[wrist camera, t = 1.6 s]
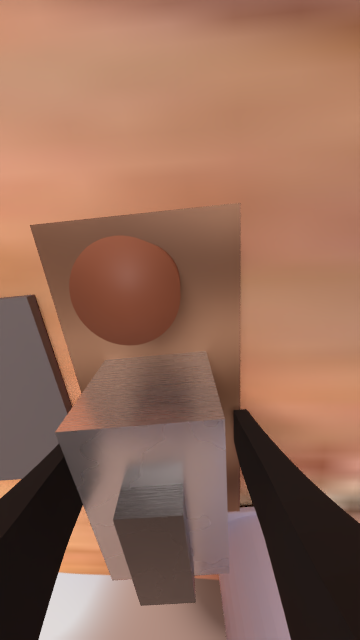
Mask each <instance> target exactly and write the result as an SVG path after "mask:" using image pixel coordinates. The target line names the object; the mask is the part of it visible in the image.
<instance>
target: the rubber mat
mask: <svg viewBox="0 0 360 640" xmlns="http://www.w3.org/2000/svg"><path fill="white" fill-rule="evenodd" d="M71 408H72V406H71V403H70V400H69V397H68V394H67V391H66V388H65V385H64V382H63V379H62V376H61V373H60V370H59V367H58V364H57V361H56V358H55V356H54V353H53V350H52V347H51V344H50V341H49V338H48V335H47V332H46V329H45V326H44V323H43V320H42V317H41V314H40V311H39V308H38V305H37V302H36V299H35V296H34V295H26V296H16V297H5V298H0V480H13V479H23V478H24V477H25V476H26V475H27V474H28V473H29V472H30V471H31V470H32V469H33V468H35V467H36V466H37V465H38V464H39V463H40V462H41V461H42V460H43V459H44V458H45V457H46V456H47V455H48V454H49V453H50V452H51V451H52V450H53V449H54V448H55V447H56V446H57V445H58V444H59V441H58V439H57V436H56V434H55V431H56V430H57V429H58V427H59V426H60V424H61V423H62V421H63V420H64V419H65V417H66V416H67V414H68V413H69V411H70V410H71Z"/></svg>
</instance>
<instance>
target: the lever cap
mask: <svg viewBox="0 0 360 640" xmlns="http://www.w3.org/2000/svg"><path fill="white" fill-rule="evenodd" d="M55 434H56V436H57V439H58V441H59V444H60V447H61V449H62V452H63V454H64V457H65V459H66V462H67V464H68V467H69V470H70V472H71V475H72V477H73V480H74V482H75V485H76V488H77V490H78V493H79V495H80V498H81V500H82V503H83V506H84V508H85V511H86V513H87V516H88V518H89V521H90V524H91V526H92V529H93V531H94V534H95V536H96V539H97V542H98V544H99V547H100V549H101V552H102V554H103V557H104V560H105V562H106V565H107V567H108V570H109V572H110V575H111V577H112V580H127V579H132V580H133V583H134V586H135V589H136V592H137V596H138V599H139V602H140V605H141V606H142V605H160V604H178V603H195V602H196V599H195V580H194V579H195V578H194V576H195V575H212V574H229V544H228V509H227V474H226V438H225V417H224V414H223V410H222V407H221V403H220V399H219V396H218V392H217V389H216V385H215V381H214V378H213V374H212V371H211V367H210V364H209V360H208V356H207V353H206V351H202V352H191V353H179V354H168V355H156V356H145V357H133V358H122V359H111V360H105V361H104V363H103V364H102V365H101V367H100V368H99V370H98V371H97V373H96V374H95V375H94V377H93V378H92V380H91V381H90V383H89V384H88V386H87V387H86V388H85V390H84V391H83V393H82V394H81V396H80V397H79V398H78V400H77V401H76V403H75V404H74V406H73V407H72V408H71V410H70V411H69V413H68V414H67V416H66V417H65V419H64V420H63V421H62V423H61V424H60V426H59V427H58V429H57V430H56V431H55Z"/></svg>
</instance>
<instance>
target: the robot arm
mask: <svg viewBox="0 0 360 640" xmlns="http://www.w3.org/2000/svg"><path fill="white" fill-rule="evenodd" d="M234 444H235V448H236V452H237V456H238V460H239V464H240V467H241V470H242V473H243V476H244V479H245V482H246V485H247V488H248V491H249V494H250V497H251V500H252V502H253V505H254V507H240V511H234V512H228V544H229V574H219V581H220V588H221V597H222V605H223V613H224V620H225V629H226V637H227V640H360V523H358V522H357V521H356V520H355V519H354V518H352V517H351V516H350V515H349V514H347V513H346V512H345V511H344V510H343V509H342V508H340V507H339V506H338V505H337V504H336V503H335V502H334V501H332V500H331V499H330V498H329V497H328V496H327V495H326V494H325V493H323V492H322V491H321V490H320V489H319V488H318V487H317V486H316V485H315V484H314V483H313V482H312V481H311V480H309V479H308V478H307V477H306V476H305V475H304V474H303V473H302V472H301V471H300V470H299V469H298V468H297V467H296V466H295V465H294V464H293V463H292V462H291V461H290V460H289V459H288V457H287V456H286V455H285V454H284V453H283V452H282V451H281V450H280V449H279V448H278V447H277V445H276V444H275V443H274V442H273V441H272V440H271V439H270V438H269V436H268V435H267V434H266V433H265V432H264V431H263V429H262V428H261V427H260V426H259V425H258V423H257V422H256V421H255V420H254V418H253V417H252V416H251V414H250V413H249V412H248V411H247V410H246V409H243V410H234ZM82 506H83V503H82V500H81V498H80V495H79V493H78V490H77V488H76V485H75V482H74V480H73V477H72V475H71V472H70V470H69V467H68V464H67V462H66V459H65V457H64V454H63V452H62V449H61V447H60V444H58V445H57V446H56V447H55V448H54V449H53V450H52V451H51V452H50V453H49V454H48V455H47V456H46V457H45V458H44V459H43V460H42V461H41V462H40V463H39V464H38V465H37V466H36V467H35V468H33V469H32V470H31V471H30V472H29V473H28V474H27V475H26V476H25V477H24V478H23V479H22V480H21V481H20V482H18V483H17V484H16V485H15V486H14V487H13V488H12V489H11V490H10V491H9V492H7V493H6V494H5V495H4V496H3V497H2V498H1V499H0V640H38V639H39V635H40V632H41V628H42V625H43V621H44V618H45V615H46V611H47V608H48V605H49V601H50V598H51V595H52V591H53V588H54V585H55V581H56V578H57V575H58V572H59V569H60V566H61V562H62V559H63V556H64V553H65V550H66V547H67V544H68V542H69V539H70V536H71V534H72V531H73V528H74V526H75V523H76V521H77V518H78V516H79V513H80V511H81V508H82Z"/></svg>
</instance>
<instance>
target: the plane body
mask: <svg viewBox="0 0 360 640" xmlns="http://www.w3.org/2000/svg"><path fill="white" fill-rule="evenodd" d="M30 227H31V230H32V234H33V237H34V240H35V243H36V247H37V250H38V253H39V256H40V260H41V263H42V266H43V269H44V273H45V276H46V279H47V282H48V286H49V289H50V292H51V295H52V299H53V302H54V305H55V308H56V312H57V315H58V318H59V321H60V325H61V328H62V331H63V334H64V338H65V341H66V344H67V347H68V351H69V354H70V357H71V360H72V364H73V367H74V370H75V373H76V377H77V380H78V383H79V386H80V390H81V393H83V391H84V390H85V388H86V387H87V386H88V384H89V383H90V381H91V380H92V378H93V377H94V375H95V374H96V373H97V371H98V370H99V368H100V367H101V365H102V364H103V363H104V361H105V360H111V359H122V358H133V357H145V356H156V355H168V354H179V353H191V352H202V351H206V353H207V356H208V360H209V364H210V367H211V371H212V374H213V378H214V381H215V385H216V389H217V392H218V396H219V399H220V403H221V407H222V410H223V414H224V417H225V438H226V474H227V509H228V512H234V511H240V464H239V460H238V456H237V452H236V448H235V444H234V410H240V231H241V203H234V204H224V205H215V206H206V207H196V208H187V209H177V210H168V211H159V212H149V213H140V214H130V215H121V216H111V217H102V218H93V219H83V220H74V221H64V222H55V223H46V224H36V225H30Z"/></svg>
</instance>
